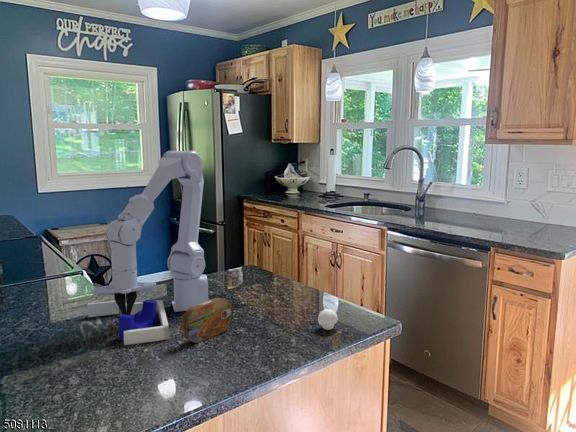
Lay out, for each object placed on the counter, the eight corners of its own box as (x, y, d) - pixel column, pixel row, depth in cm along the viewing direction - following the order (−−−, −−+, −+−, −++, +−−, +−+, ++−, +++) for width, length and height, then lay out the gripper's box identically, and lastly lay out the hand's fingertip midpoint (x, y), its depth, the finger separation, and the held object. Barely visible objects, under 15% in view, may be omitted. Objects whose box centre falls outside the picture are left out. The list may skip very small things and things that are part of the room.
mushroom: (323, 333, 107) (324, 314, 106) (314, 326, 111) (314, 307, 110) (341, 330, 109) (341, 311, 108) (331, 323, 113) (331, 305, 112)
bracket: (162, 309, 122) (162, 299, 121) (169, 339, 103) (168, 327, 102) (124, 314, 118) (123, 303, 118) (124, 345, 99) (123, 332, 99)
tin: (187, 348, 98) (186, 312, 97) (178, 344, 100) (177, 309, 99) (234, 327, 110) (234, 295, 109) (225, 324, 112) (225, 292, 111)
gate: (122, 314, 119) (121, 299, 118) (88, 318, 116) (87, 303, 115) (122, 312, 119) (122, 298, 119) (88, 316, 116) (87, 302, 116)
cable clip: (140, 321, 114) (140, 299, 113) (156, 323, 113) (156, 301, 112) (113, 340, 102) (113, 315, 101) (130, 342, 101) (130, 318, 101)
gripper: (91, 275, 101) (94, 331, 103) (156, 270, 106) (158, 323, 108) (93, 267, 107) (96, 320, 109) (154, 263, 112) (156, 313, 114)
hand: (126, 321), depth 109 cm, fingers closed
